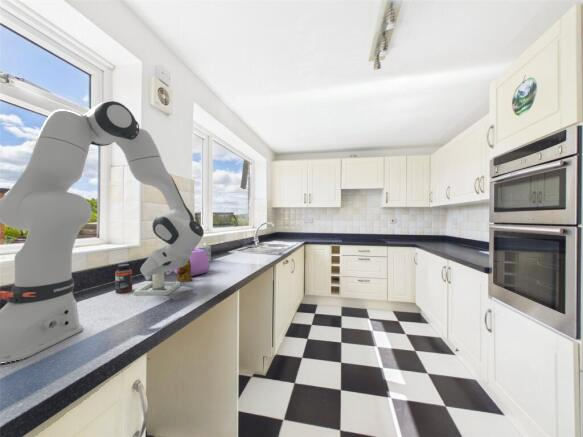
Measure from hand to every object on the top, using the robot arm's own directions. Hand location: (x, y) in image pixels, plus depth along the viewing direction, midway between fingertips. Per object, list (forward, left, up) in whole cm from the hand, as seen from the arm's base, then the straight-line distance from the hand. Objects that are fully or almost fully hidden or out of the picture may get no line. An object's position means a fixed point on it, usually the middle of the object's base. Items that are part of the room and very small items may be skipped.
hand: (157, 275), depth 103 cm
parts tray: (0, -1, -7) cm, 7 cm away
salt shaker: (0, -1, -6) cm, 6 cm away
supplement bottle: (+2, +14, -7) cm, 16 cm away
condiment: (+16, -6, -7) cm, 18 cm away
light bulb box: (+63, -1, -7) cm, 63 cm away
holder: (-7, -13, -7) cm, 16 cm away
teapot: (+31, -4, -7) cm, 32 cm away
